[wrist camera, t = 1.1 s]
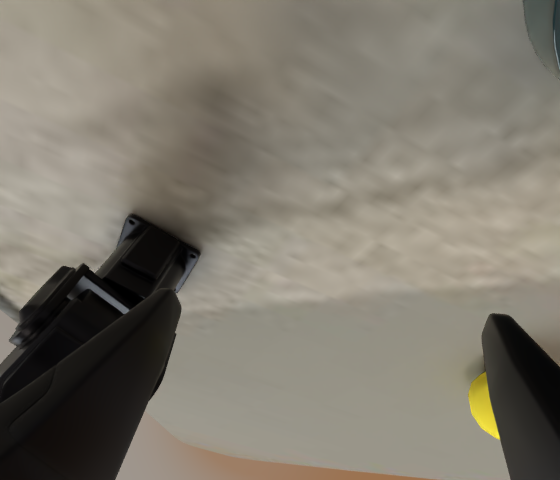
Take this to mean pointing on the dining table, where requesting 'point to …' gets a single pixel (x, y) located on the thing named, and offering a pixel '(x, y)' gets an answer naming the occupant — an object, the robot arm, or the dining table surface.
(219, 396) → the dining table surface
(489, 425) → the lemon
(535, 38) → the pot
